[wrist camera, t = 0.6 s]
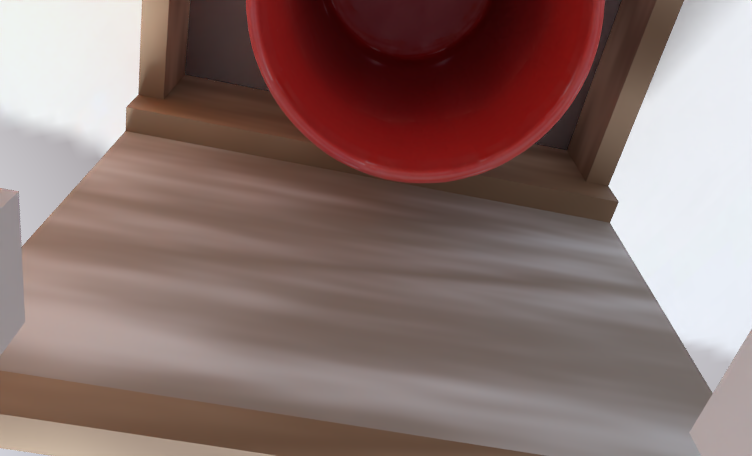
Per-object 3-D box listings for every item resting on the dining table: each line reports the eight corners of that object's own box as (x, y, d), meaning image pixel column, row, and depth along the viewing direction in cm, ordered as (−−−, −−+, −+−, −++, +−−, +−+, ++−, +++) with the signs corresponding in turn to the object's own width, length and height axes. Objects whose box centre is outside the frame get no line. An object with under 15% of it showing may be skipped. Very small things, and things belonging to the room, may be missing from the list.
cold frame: (183, -314, 24) (-329, -726, 7) (715, -182, 26) (1394, -237, 9) (158, 137, 32) (-102, 478, 15) (564, 214, 34) (753, 598, 17)
